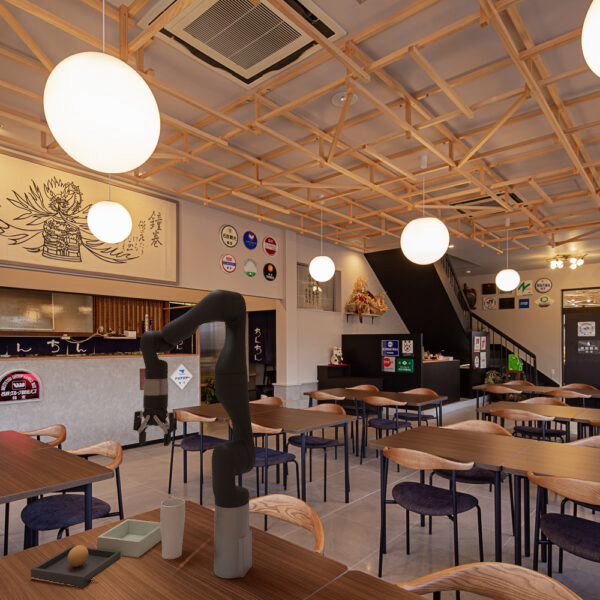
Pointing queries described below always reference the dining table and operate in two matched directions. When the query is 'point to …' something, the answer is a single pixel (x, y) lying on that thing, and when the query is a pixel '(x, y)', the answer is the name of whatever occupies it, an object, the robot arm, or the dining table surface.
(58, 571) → the tray
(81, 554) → the ball
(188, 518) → the dining table surface
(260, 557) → the dining table surface
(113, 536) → the open box
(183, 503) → the drinking glass
